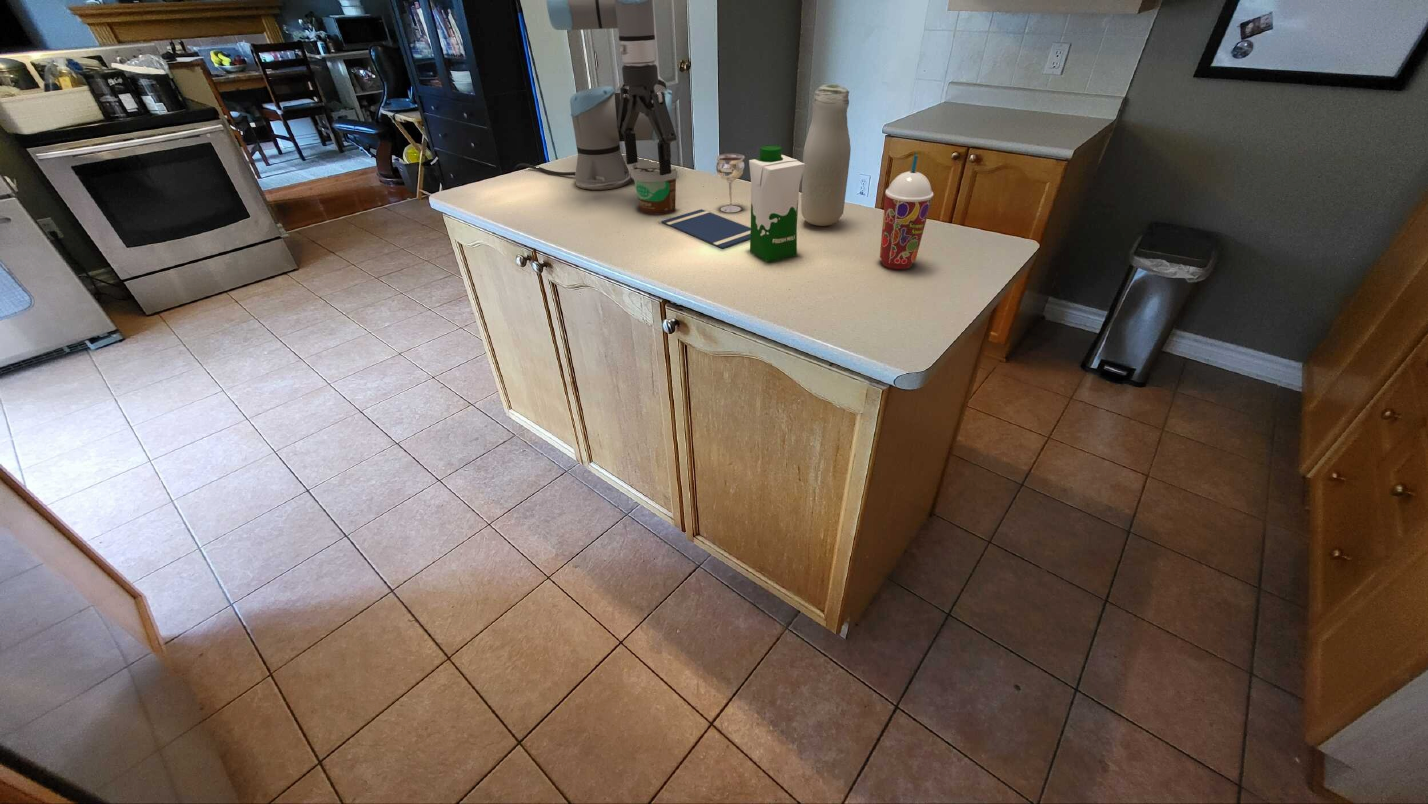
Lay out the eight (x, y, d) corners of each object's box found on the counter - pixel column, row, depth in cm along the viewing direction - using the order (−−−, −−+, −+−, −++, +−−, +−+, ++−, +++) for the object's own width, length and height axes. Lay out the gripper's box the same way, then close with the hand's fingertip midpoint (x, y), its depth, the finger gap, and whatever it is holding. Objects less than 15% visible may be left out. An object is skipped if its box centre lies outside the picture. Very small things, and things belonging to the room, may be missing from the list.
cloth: (661, 222, 133) (661, 220, 133) (701, 210, 139) (701, 209, 139) (722, 249, 119) (722, 247, 119) (763, 234, 125) (764, 232, 125)
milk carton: (779, 242, 121) (783, 142, 109) (803, 256, 115) (811, 151, 103) (743, 250, 118) (744, 148, 106) (766, 266, 112) (770, 158, 100)
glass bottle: (841, 216, 133) (856, 80, 116) (843, 232, 125) (859, 89, 108) (799, 215, 134) (808, 81, 117) (797, 231, 126) (807, 89, 109)
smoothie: (911, 276, 106) (933, 164, 94) (868, 267, 110) (884, 158, 98) (923, 260, 112) (946, 152, 100) (882, 252, 116) (899, 147, 104)
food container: (624, 212, 140) (619, 169, 134) (638, 204, 144) (634, 163, 138) (667, 218, 135) (663, 175, 129) (680, 210, 139) (677, 168, 133)
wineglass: (724, 215, 136) (723, 162, 129) (712, 207, 141) (711, 156, 134) (749, 210, 138) (750, 158, 131) (737, 203, 143) (737, 152, 136)
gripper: (594, 61, 126) (606, 162, 139) (658, 70, 111) (666, 182, 123) (622, 58, 130) (632, 156, 143) (689, 66, 114) (694, 175, 127)
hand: (648, 169), depth 133 cm, fingers open, 13 cm apart
